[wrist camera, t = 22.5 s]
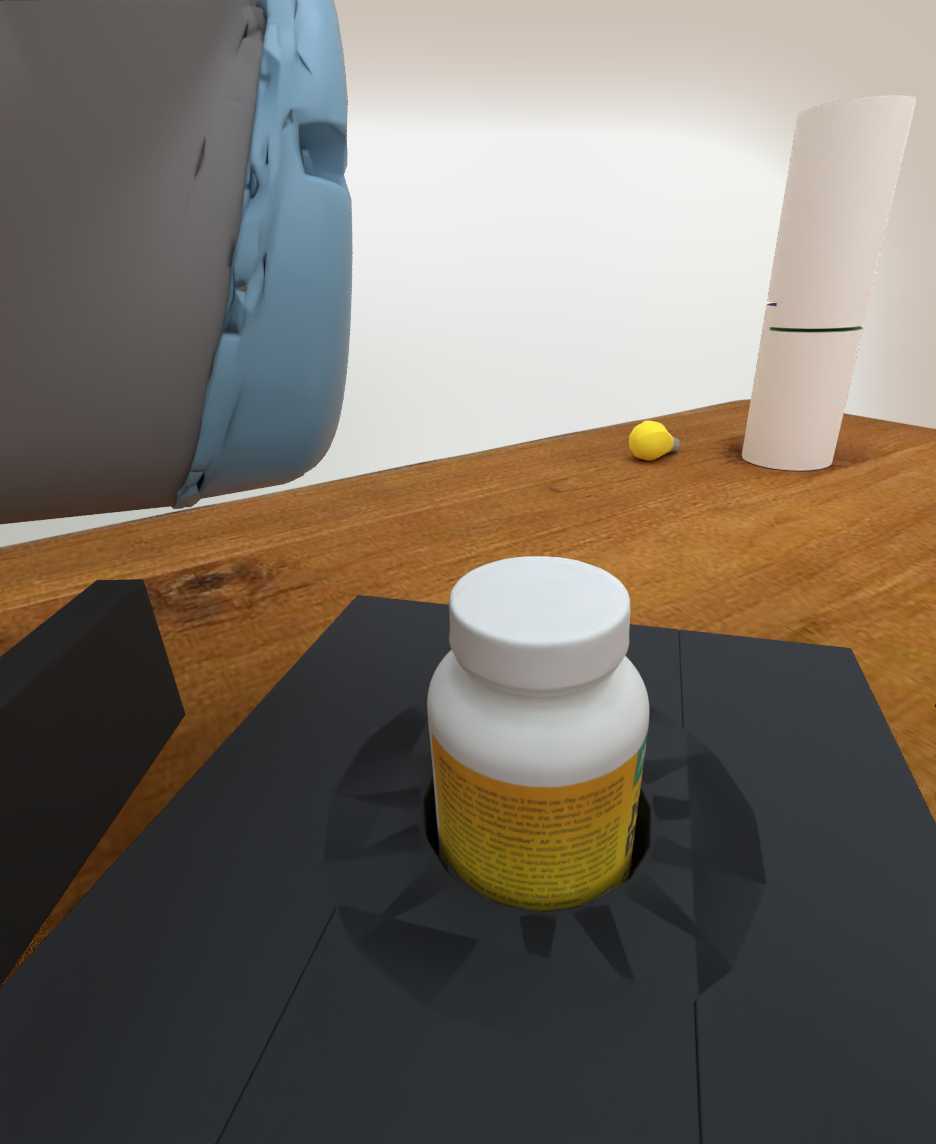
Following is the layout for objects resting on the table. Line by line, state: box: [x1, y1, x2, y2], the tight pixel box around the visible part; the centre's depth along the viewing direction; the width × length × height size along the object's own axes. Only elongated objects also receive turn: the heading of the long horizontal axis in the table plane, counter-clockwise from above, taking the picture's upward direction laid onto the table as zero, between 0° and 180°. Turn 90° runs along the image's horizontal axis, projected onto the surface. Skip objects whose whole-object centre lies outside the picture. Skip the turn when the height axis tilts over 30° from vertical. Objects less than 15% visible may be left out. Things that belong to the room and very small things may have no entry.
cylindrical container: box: [742, 95, 916, 471], centre depth 48 cm, size 7×7×25 cm
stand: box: [0, 595, 936, 1144], centre depth 17 cm, size 20×20×3 cm
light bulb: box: [629, 421, 680, 461], centre depth 55 cm, size 3×6×4 cm, turn 126°
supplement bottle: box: [427, 556, 649, 912], centre depth 16 cm, size 5×5×10 cm
